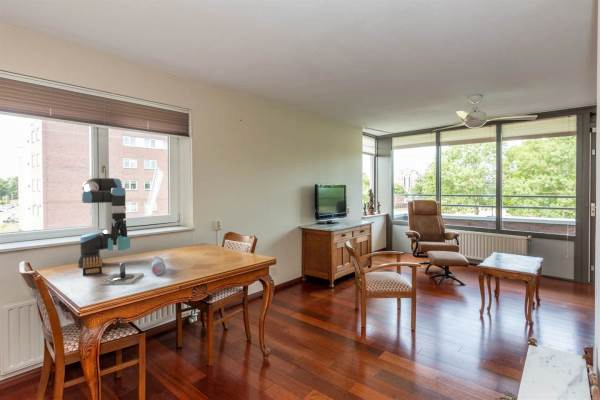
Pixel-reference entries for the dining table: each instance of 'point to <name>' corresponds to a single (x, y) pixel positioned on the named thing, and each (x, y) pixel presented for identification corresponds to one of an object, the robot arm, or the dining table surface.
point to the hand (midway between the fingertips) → (119, 248)
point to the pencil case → (158, 266)
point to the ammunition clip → (94, 270)
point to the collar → (120, 243)
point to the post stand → (122, 277)
